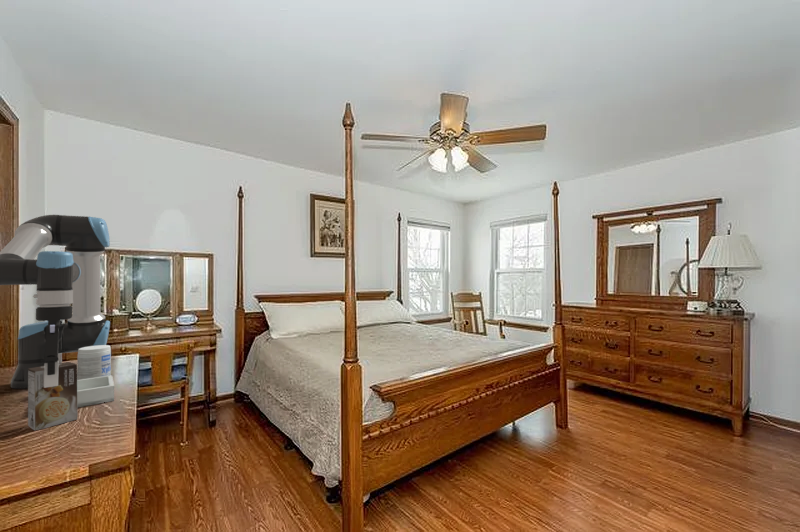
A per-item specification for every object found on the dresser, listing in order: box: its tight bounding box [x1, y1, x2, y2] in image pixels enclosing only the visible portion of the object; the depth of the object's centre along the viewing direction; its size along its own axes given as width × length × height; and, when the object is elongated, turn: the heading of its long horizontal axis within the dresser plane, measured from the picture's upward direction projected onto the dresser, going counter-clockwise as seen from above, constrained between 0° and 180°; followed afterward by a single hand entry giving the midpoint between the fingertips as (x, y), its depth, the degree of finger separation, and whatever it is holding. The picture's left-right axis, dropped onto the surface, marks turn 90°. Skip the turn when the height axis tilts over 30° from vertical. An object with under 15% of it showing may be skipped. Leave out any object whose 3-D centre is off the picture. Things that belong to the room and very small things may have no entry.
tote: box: [77, 374, 115, 408], centre depth 121 cm, size 16×16×5 cm
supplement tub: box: [76, 344, 112, 380], centre depth 134 cm, size 10×10×15 cm
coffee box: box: [27, 361, 78, 432], centre depth 103 cm, size 9×6×16 cm
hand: (53, 381), depth 103 cm, fingers open, 13 cm apart
